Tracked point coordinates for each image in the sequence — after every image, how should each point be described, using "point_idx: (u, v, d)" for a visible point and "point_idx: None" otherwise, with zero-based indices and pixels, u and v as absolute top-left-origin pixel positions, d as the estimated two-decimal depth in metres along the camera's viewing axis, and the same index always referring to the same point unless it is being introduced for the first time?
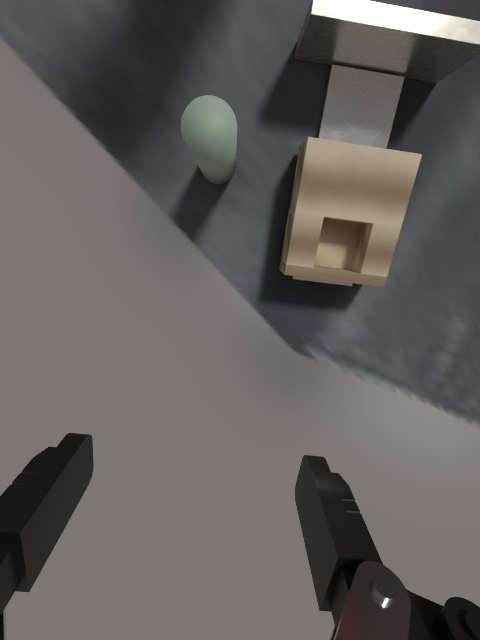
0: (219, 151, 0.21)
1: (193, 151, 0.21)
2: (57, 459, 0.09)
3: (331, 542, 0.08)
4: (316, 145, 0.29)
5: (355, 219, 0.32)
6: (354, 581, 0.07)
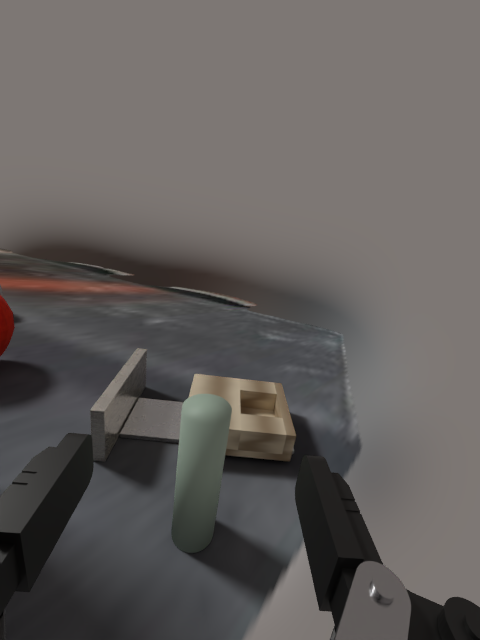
0: (224, 403, 0.24)
1: (226, 418, 0.22)
2: (57, 459, 0.09)
3: (331, 542, 0.08)
4: None
5: (239, 397, 0.41)
6: (354, 581, 0.07)
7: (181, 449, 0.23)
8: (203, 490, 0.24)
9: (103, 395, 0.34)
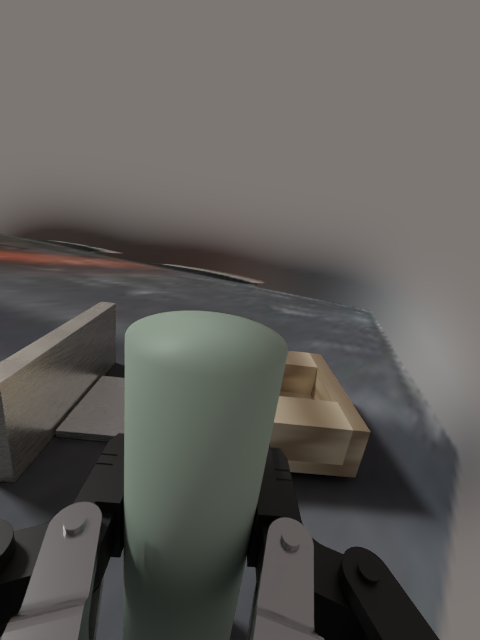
0: (258, 329, 0.08)
1: (275, 361, 0.06)
2: None
3: None
4: None
5: None
6: (267, 542, 0.07)
7: (126, 466, 0.07)
8: (197, 595, 0.08)
9: (12, 357, 0.18)
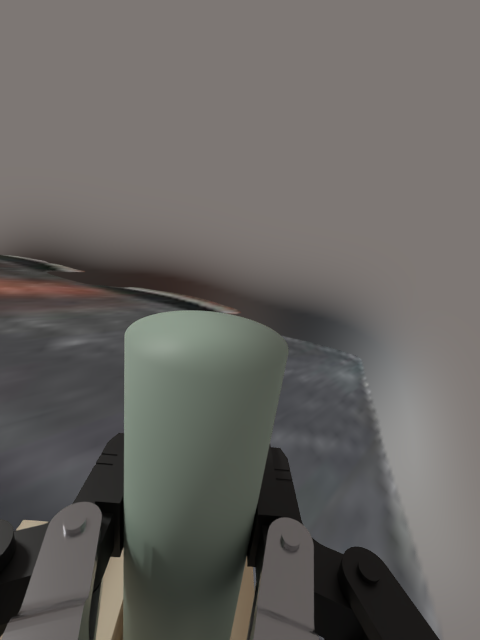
0: (258, 329, 0.08)
1: (276, 361, 0.06)
2: None
3: None
4: None
5: None
6: (267, 542, 0.07)
7: (126, 466, 0.07)
8: (197, 596, 0.08)
9: None
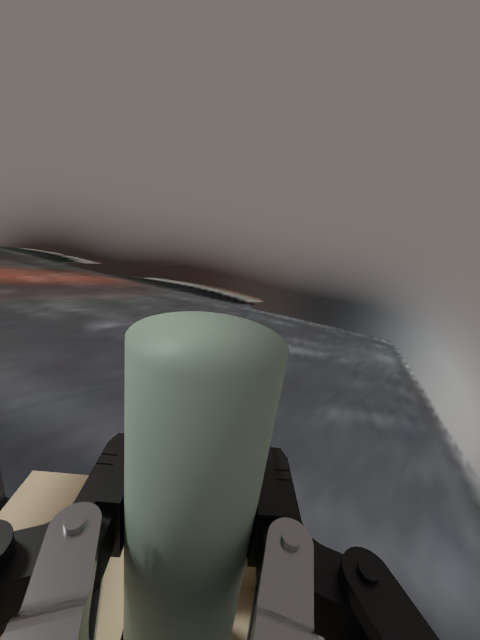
0: (258, 330, 0.08)
1: (276, 362, 0.06)
2: None
3: None
4: None
5: None
6: (267, 542, 0.07)
7: (126, 468, 0.07)
8: (198, 596, 0.08)
9: None
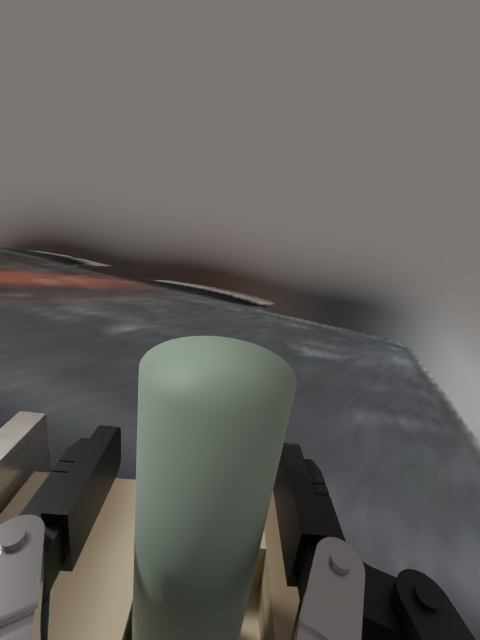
0: (267, 357, 0.08)
1: (285, 395, 0.07)
2: (92, 449, 0.10)
3: (297, 520, 0.08)
4: None
5: (130, 594, 0.12)
6: (314, 559, 0.07)
7: (139, 492, 0.07)
8: (205, 618, 0.08)
9: None
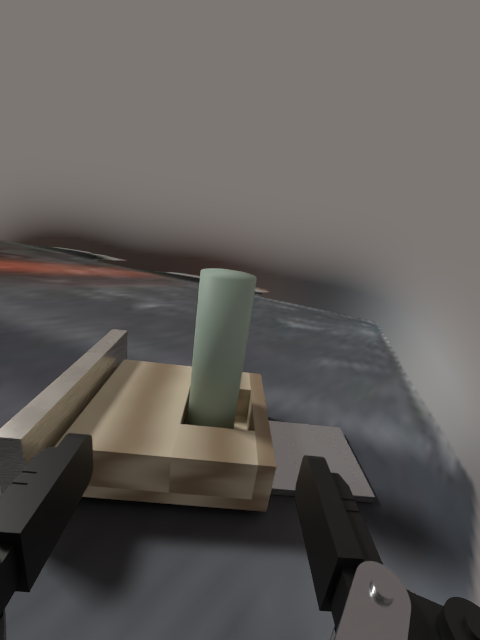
0: (246, 274, 0.22)
1: (251, 280, 0.20)
2: (57, 459, 0.09)
3: (331, 542, 0.08)
4: None
5: (185, 396, 0.25)
6: (354, 581, 0.07)
7: (199, 320, 0.21)
8: (223, 369, 0.21)
9: (31, 404, 0.18)
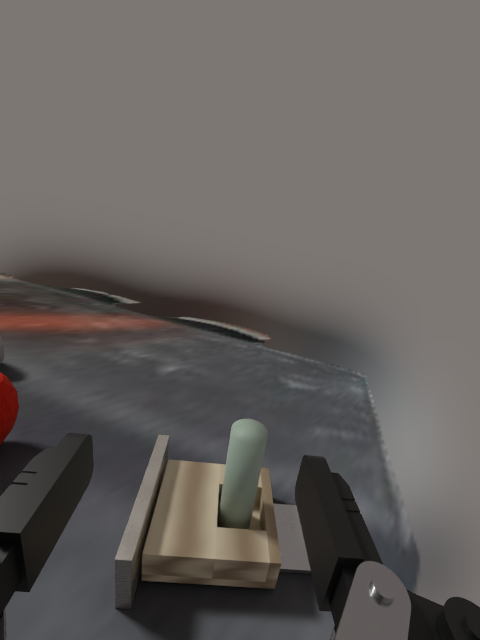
0: (261, 426, 0.32)
1: (264, 439, 0.30)
2: (57, 459, 0.09)
3: (330, 542, 0.08)
4: (152, 544, 0.30)
5: (217, 498, 0.35)
6: (354, 581, 0.07)
7: (230, 461, 0.31)
8: (246, 492, 0.32)
9: (128, 528, 0.29)
